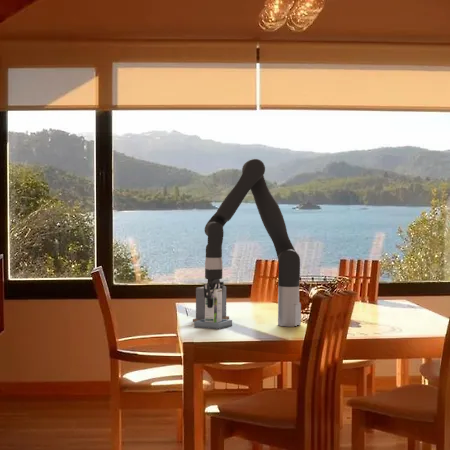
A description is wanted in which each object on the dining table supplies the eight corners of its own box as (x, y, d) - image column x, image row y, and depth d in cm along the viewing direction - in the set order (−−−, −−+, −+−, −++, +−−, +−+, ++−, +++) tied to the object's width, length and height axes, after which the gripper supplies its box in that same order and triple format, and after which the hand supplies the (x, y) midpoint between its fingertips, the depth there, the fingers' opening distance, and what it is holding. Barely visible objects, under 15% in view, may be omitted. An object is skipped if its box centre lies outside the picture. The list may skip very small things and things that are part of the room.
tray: (232, 325, 360) (232, 319, 360) (218, 329, 349) (218, 323, 349) (208, 323, 365) (208, 317, 365) (194, 327, 355) (194, 321, 355)
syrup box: (204, 322, 356) (204, 288, 355) (210, 320, 361) (211, 287, 361) (215, 323, 353) (216, 289, 353) (222, 321, 358) (222, 288, 358)
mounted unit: (229, 318, 381) (229, 286, 380) (212, 323, 367) (212, 289, 366) (210, 316, 385) (210, 284, 385) (192, 321, 371) (192, 288, 371)
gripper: (214, 266, 364) (214, 304, 365) (197, 268, 352) (197, 308, 352) (229, 267, 361) (229, 305, 361) (213, 269, 348) (213, 309, 349)
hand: (213, 306), depth 357 cm, fingers closed on syrup box, 6 cm apart
